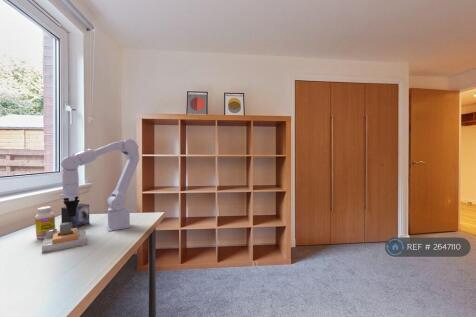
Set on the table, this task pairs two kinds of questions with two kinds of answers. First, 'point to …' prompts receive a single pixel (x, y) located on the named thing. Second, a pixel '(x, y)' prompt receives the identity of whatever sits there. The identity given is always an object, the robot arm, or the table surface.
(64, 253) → the table surface
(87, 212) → the small box
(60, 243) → the peg hole board
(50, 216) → the supplement bottle
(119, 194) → the robot arm
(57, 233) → the bracket
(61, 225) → the grey metal square peg
